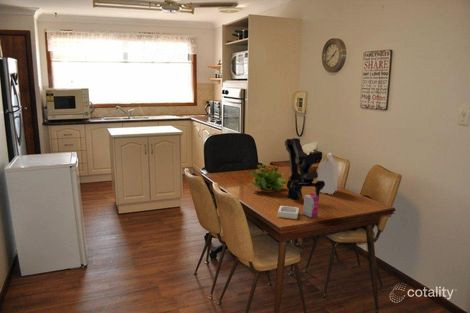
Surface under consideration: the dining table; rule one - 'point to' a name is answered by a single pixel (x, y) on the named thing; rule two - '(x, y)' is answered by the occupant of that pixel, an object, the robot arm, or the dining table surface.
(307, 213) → the supplement box
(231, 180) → the dining table surface
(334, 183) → the milk
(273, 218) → the dining table surface
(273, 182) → the potted flower
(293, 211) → the collar
